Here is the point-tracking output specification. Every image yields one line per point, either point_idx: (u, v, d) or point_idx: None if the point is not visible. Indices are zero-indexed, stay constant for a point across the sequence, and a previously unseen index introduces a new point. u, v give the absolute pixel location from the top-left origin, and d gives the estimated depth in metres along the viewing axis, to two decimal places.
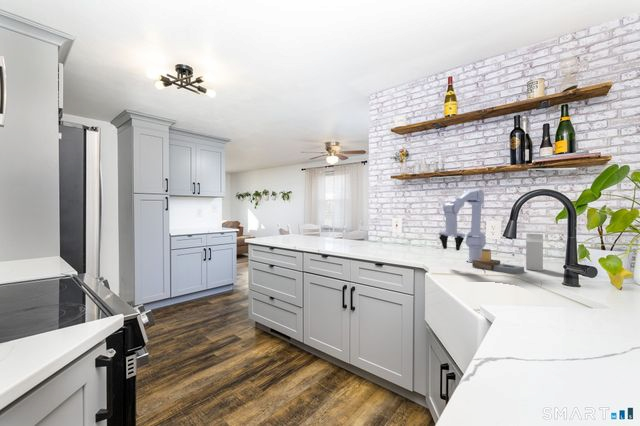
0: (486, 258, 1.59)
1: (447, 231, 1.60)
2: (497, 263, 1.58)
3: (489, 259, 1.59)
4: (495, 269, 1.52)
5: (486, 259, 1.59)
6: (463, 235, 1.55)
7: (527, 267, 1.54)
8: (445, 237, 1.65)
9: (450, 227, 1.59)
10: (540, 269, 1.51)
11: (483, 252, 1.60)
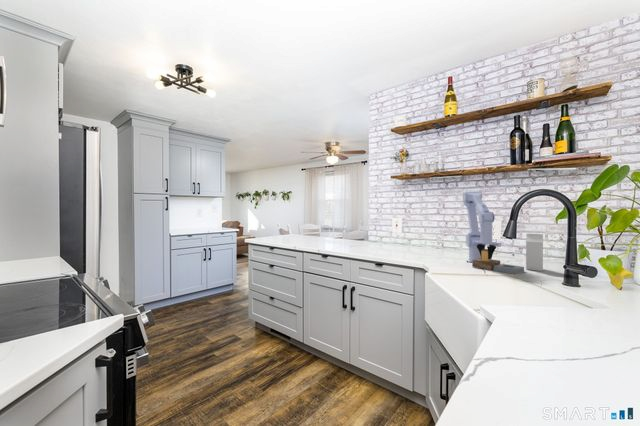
0: (486, 258, 1.59)
1: (482, 240, 1.60)
2: (497, 263, 1.58)
3: (489, 259, 1.59)
4: (495, 269, 1.52)
5: (486, 259, 1.59)
6: (499, 244, 1.55)
7: (527, 267, 1.54)
8: (483, 246, 1.62)
9: (486, 236, 1.58)
10: (540, 269, 1.51)
11: (483, 252, 1.60)
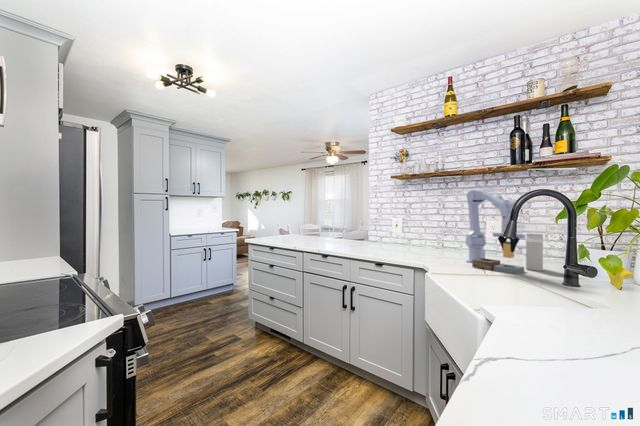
0: (508, 251, 1.50)
1: None
2: (497, 263, 1.58)
3: (511, 252, 1.50)
4: (495, 269, 1.52)
5: (508, 252, 1.49)
6: (524, 236, 1.45)
7: (527, 267, 1.54)
8: (504, 238, 1.53)
9: None
10: (540, 269, 1.51)
11: (505, 245, 1.51)
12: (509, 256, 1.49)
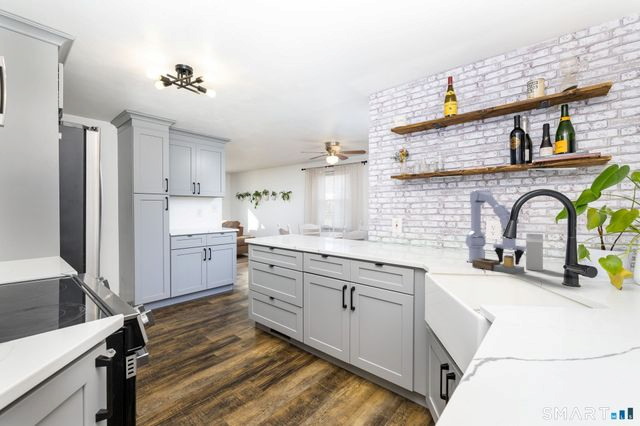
0: (508, 265, 1.50)
1: (505, 244, 1.50)
2: (497, 263, 1.58)
3: (512, 266, 1.50)
4: (495, 269, 1.52)
5: (509, 266, 1.49)
6: (524, 249, 1.45)
7: (527, 267, 1.54)
8: (501, 250, 1.54)
9: (509, 240, 1.49)
10: (540, 269, 1.51)
11: (505, 259, 1.51)
12: None
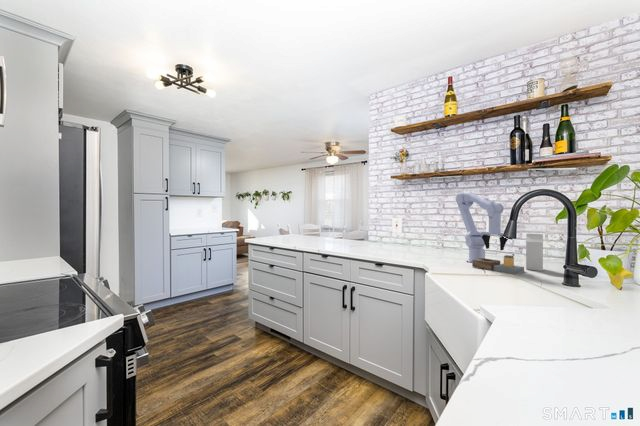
0: (508, 265, 1.50)
1: (491, 231, 1.61)
2: (497, 263, 1.58)
3: (512, 266, 1.50)
4: (495, 269, 1.52)
5: (509, 266, 1.49)
6: None
7: (527, 267, 1.54)
8: (488, 237, 1.65)
9: (494, 227, 1.59)
10: (540, 269, 1.51)
11: (505, 259, 1.51)
12: None
